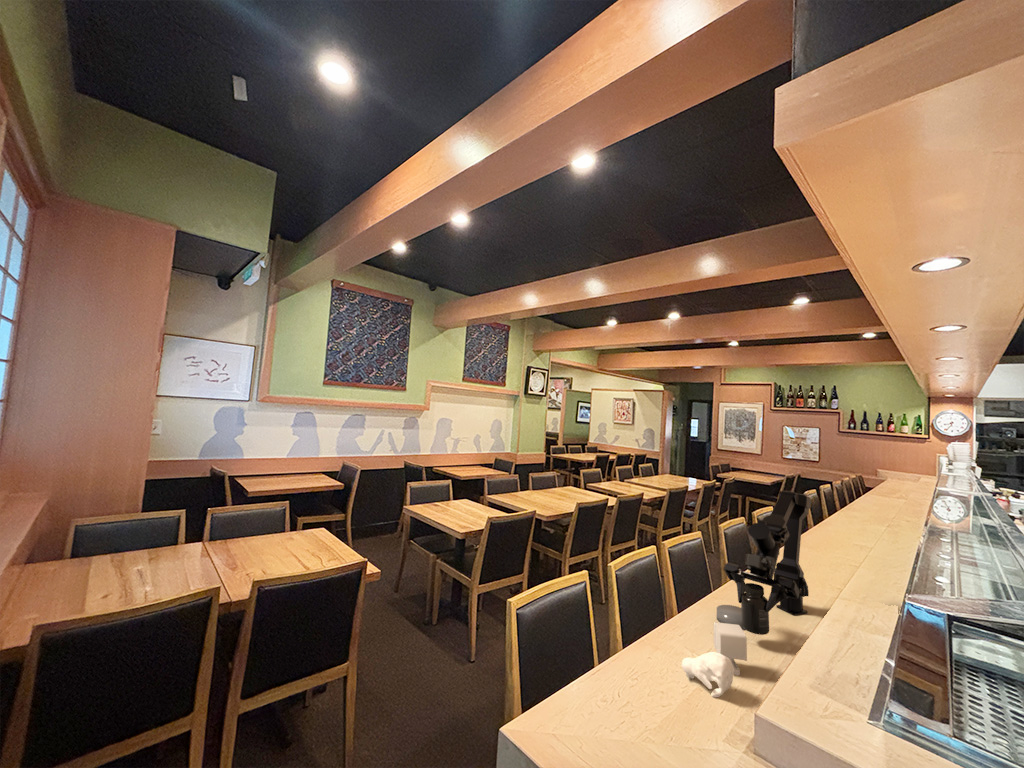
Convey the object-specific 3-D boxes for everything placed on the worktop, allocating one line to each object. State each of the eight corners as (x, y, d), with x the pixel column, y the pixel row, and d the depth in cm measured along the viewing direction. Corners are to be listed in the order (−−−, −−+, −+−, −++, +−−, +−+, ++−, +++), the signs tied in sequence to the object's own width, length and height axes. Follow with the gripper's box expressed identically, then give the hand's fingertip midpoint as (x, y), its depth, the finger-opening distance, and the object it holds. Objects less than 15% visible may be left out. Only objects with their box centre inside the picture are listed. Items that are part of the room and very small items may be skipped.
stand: (733, 612, 139) (733, 603, 139) (760, 627, 130) (760, 617, 130) (709, 616, 136) (709, 606, 136) (735, 631, 126) (734, 621, 127)
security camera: (747, 678, 104) (746, 635, 105) (717, 673, 105) (716, 632, 106) (739, 663, 110) (738, 623, 111) (710, 659, 112) (710, 620, 112)
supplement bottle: (766, 625, 122) (765, 583, 123) (772, 637, 116) (771, 592, 117) (739, 621, 124) (738, 579, 125) (744, 632, 118) (743, 588, 119)
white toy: (723, 663, 95) (674, 645, 104) (727, 704, 94) (677, 683, 103) (735, 653, 99) (687, 637, 108) (739, 693, 98) (690, 673, 107)
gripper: (725, 535, 131) (710, 581, 123) (795, 551, 117) (783, 603, 109) (736, 556, 136) (722, 601, 128) (804, 573, 122) (793, 625, 114)
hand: (752, 606), depth 120 cm, fingers closed on supplement bottle, 7 cm apart
